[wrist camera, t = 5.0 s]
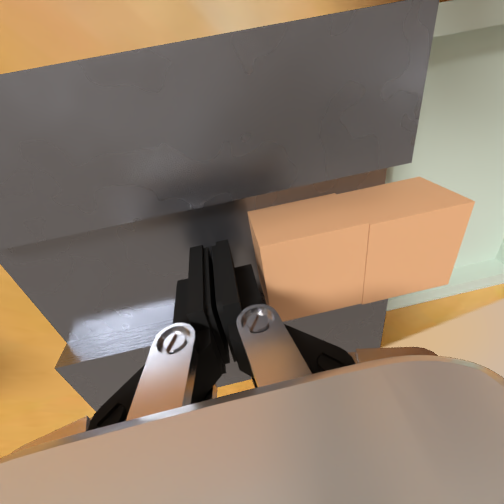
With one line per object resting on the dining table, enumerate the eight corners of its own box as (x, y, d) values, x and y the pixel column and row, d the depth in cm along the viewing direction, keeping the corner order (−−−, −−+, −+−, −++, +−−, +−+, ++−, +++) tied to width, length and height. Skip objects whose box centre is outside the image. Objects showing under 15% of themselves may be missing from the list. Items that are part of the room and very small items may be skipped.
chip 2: (419, 176, 12) (475, 201, 10) (405, 249, 15) (447, 284, 12) (335, 194, 12) (369, 224, 10) (333, 265, 14) (362, 304, 12)
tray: (622, -27, 12) (690, -44, 10) (496, 262, 21) (522, 278, 19) (361, 21, 11) (389, 11, 10) (346, 297, 20) (359, 317, 19)
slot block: (361, 21, 11) (440, -7, 8) (346, 297, 20) (379, 347, 17) (-55, 98, 11) (-195, 109, 7) (119, 351, 19) (100, 415, 16)
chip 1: (334, 192, 12) (369, 222, 10) (333, 264, 14) (361, 303, 12) (247, 211, 12) (259, 247, 9) (259, 280, 14) (272, 324, 12)
